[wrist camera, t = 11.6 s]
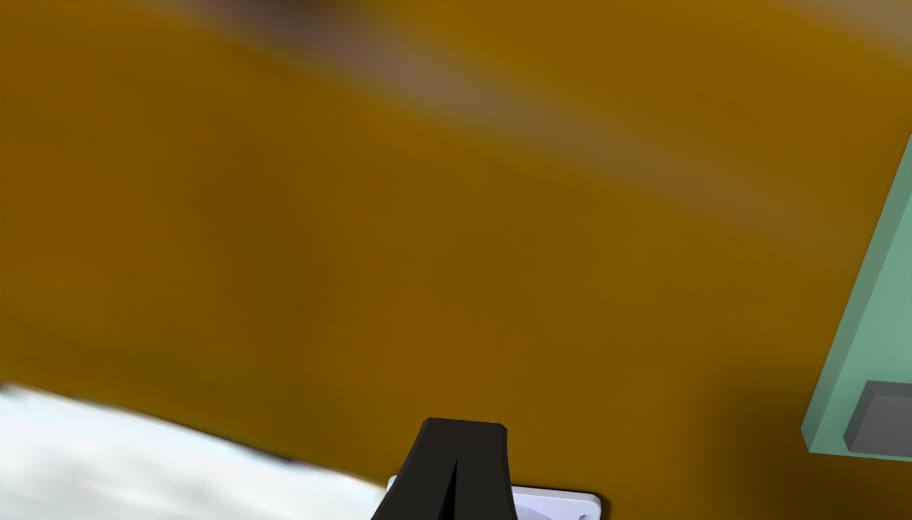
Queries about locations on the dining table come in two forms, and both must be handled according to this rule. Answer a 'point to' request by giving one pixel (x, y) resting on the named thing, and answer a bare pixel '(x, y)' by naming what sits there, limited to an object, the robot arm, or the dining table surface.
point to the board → (872, 347)
